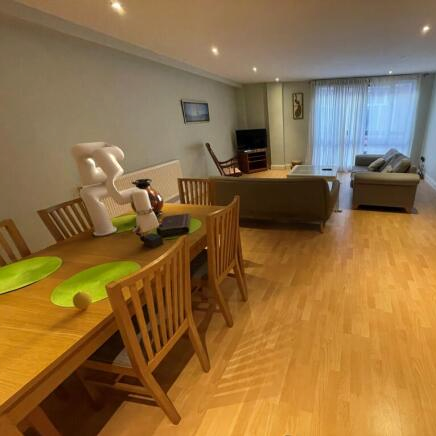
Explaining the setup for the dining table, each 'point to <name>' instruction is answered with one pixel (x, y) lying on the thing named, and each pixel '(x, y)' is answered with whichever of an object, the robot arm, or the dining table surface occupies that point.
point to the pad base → (154, 244)
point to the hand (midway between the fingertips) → (151, 238)
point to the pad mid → (152, 238)
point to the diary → (175, 224)
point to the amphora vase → (153, 196)
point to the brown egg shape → (82, 300)
